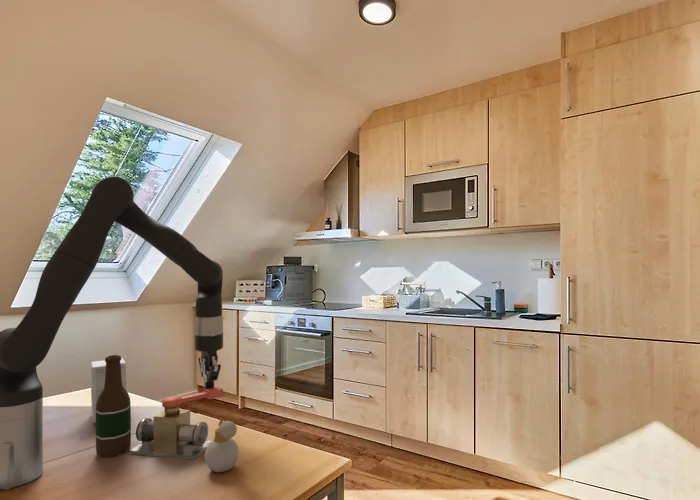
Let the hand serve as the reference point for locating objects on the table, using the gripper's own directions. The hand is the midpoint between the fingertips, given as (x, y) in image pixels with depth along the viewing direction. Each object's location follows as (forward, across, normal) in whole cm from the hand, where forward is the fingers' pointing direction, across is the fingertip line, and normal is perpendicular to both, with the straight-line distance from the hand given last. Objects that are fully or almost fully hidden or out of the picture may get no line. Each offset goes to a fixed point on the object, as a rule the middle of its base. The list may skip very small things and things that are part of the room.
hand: (209, 394), depth 120 cm
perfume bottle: (+10, +24, -4) cm, 27 cm away
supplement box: (+12, -34, -21) cm, 41 cm away
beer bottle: (+11, -3, -23) cm, 26 cm away
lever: (0, +4, -5) cm, 7 cm away
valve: (+11, +4, -11) cm, 16 cm away
